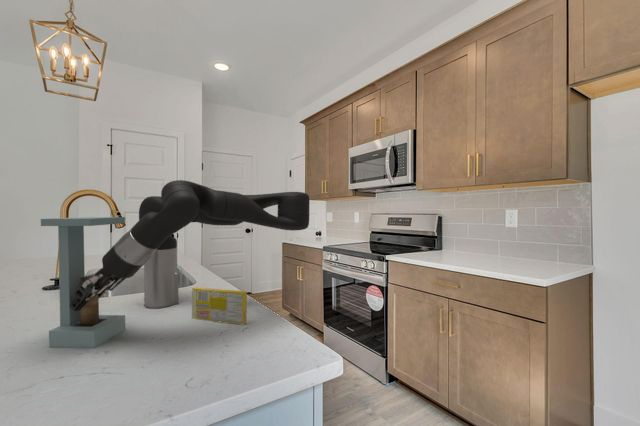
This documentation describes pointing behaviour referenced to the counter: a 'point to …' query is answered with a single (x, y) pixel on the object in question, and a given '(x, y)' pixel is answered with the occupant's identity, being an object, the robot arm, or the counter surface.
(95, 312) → the peg
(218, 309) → the candy box
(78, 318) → the socket stand
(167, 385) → the counter surface
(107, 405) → the counter surface
